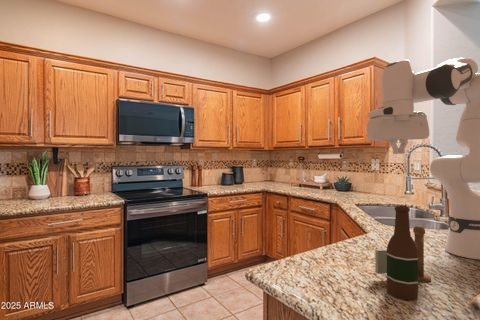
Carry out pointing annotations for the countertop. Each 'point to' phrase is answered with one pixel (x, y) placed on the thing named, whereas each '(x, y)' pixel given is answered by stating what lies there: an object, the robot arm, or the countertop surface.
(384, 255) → the flap
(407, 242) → the beer bottle
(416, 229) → the post
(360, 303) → the countertop surface
